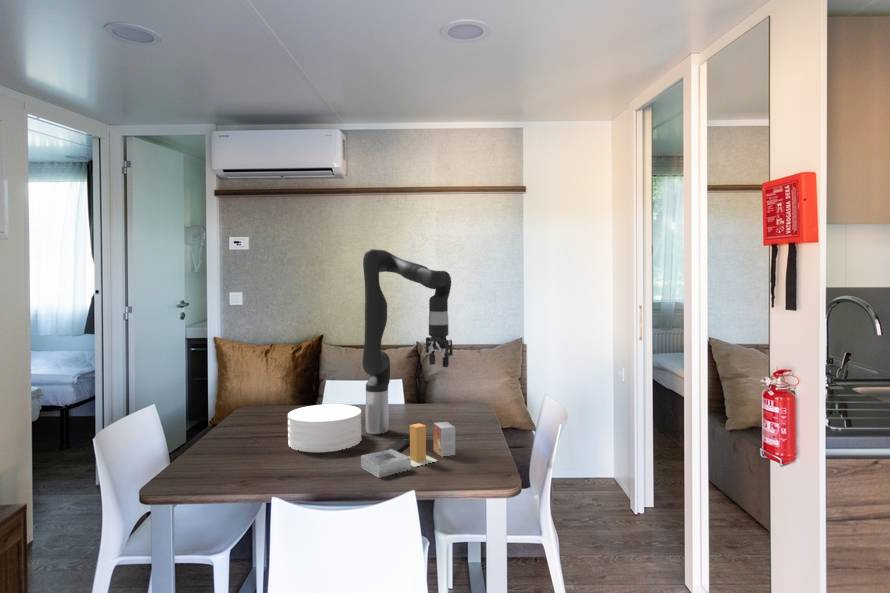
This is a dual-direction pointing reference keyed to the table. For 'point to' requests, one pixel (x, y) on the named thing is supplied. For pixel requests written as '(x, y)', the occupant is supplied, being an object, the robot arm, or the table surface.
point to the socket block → (385, 463)
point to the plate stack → (324, 428)
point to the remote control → (400, 444)
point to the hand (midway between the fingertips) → (438, 365)
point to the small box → (444, 439)
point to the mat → (428, 460)
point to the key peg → (418, 442)
